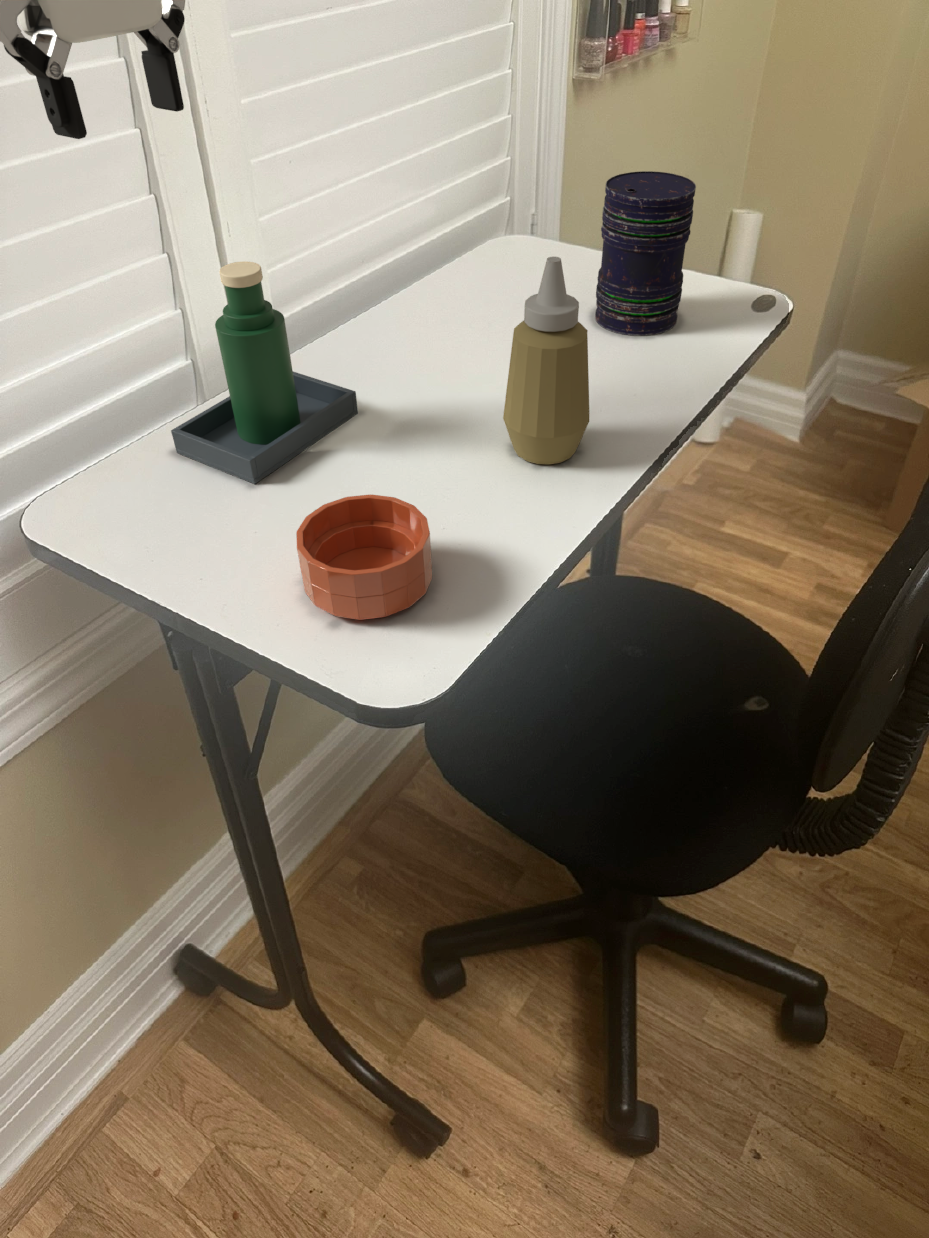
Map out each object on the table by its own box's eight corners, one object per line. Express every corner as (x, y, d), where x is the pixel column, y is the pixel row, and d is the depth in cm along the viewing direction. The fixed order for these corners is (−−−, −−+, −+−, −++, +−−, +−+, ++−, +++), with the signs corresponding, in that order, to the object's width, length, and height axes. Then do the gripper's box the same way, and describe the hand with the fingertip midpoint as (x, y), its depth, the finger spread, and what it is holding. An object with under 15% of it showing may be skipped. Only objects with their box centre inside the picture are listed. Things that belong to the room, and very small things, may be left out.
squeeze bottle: (492, 465, 84) (493, 273, 72) (514, 423, 90) (518, 238, 78) (577, 478, 82) (593, 282, 70) (594, 434, 88) (611, 246, 76)
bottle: (236, 447, 87) (201, 285, 76) (238, 415, 91) (206, 258, 81) (301, 441, 87) (275, 279, 77) (300, 410, 92) (276, 253, 81)
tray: (254, 484, 83) (250, 460, 81) (176, 453, 87) (170, 430, 85) (358, 413, 92) (355, 391, 90) (283, 388, 96) (279, 366, 95)
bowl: (306, 632, 68) (297, 580, 64) (304, 551, 75) (295, 501, 72) (439, 617, 69) (436, 565, 65) (423, 539, 76) (420, 489, 73)
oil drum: (637, 294, 113) (651, 165, 103) (695, 321, 107) (716, 186, 97) (576, 315, 109) (585, 183, 99) (633, 344, 103) (649, 206, 93)
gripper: (119, -167, 67) (172, 95, 78) (-102, -160, 56) (-3, 141, 68) (189, -168, 64) (234, 105, 75) (-30, -161, 53) (61, 155, 65)
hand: (121, 122), depth 71 cm, fingers open, 9 cm apart
